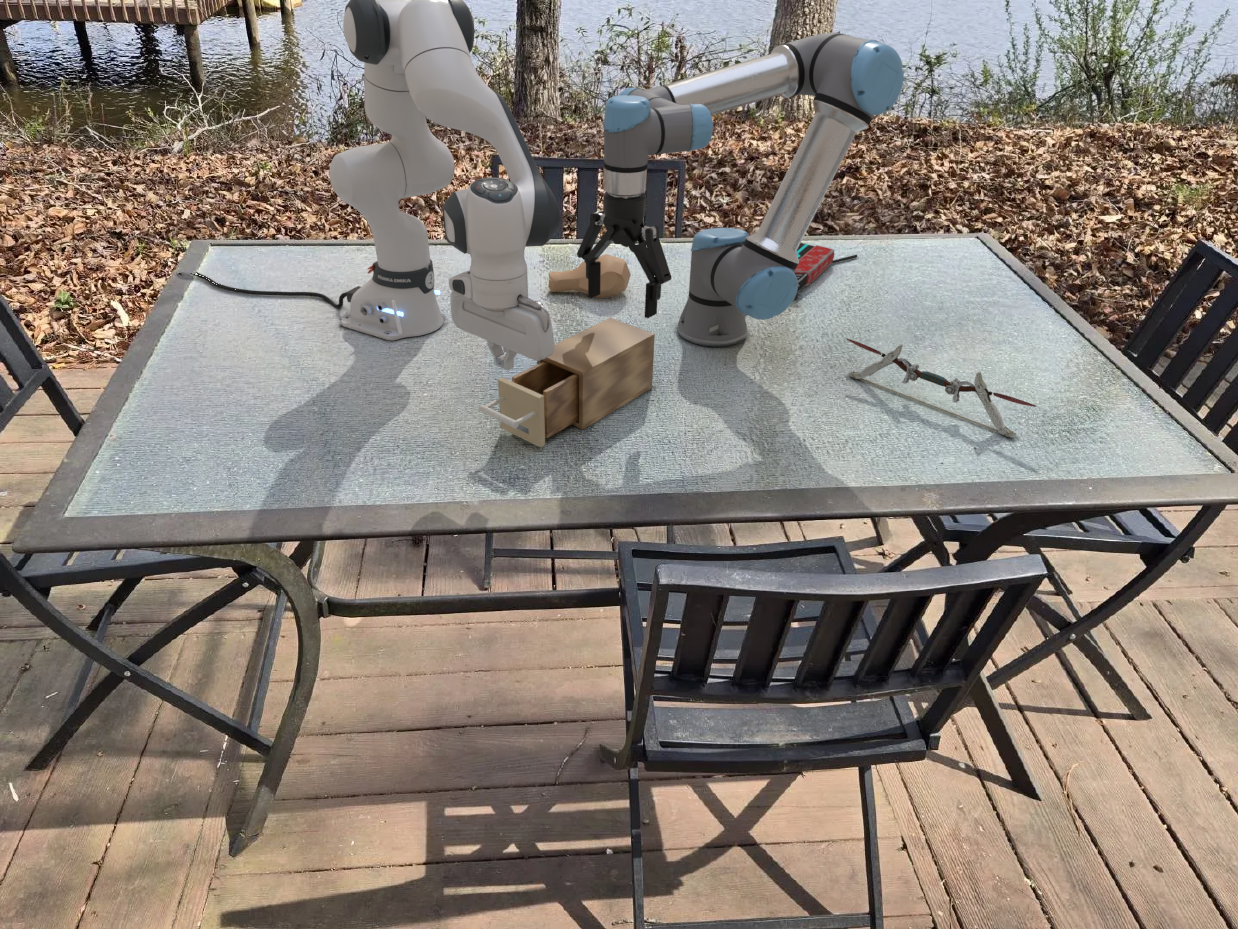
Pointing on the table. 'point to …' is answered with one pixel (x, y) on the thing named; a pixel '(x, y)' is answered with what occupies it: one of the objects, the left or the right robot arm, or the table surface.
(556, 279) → the squash
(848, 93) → the right robot arm
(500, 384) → the drawer
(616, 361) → the cabinet
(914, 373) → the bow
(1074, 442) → the table surface
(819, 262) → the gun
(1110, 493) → the table surface
